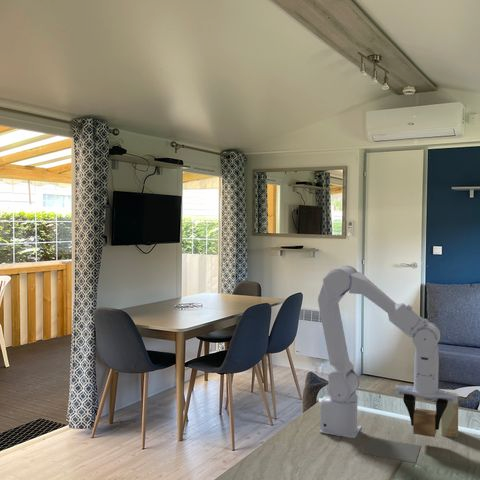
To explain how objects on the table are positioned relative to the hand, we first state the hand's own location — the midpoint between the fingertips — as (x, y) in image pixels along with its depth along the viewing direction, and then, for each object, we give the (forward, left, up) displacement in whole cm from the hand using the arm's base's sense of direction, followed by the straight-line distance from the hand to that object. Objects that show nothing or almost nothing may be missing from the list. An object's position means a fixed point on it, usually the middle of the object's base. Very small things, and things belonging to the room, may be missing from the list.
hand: (425, 426), depth 136 cm
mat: (-7, -6, -5) cm, 10 cm away
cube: (0, 0, -1) cm, 1 cm away
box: (+5, +11, -5) cm, 13 cm away
